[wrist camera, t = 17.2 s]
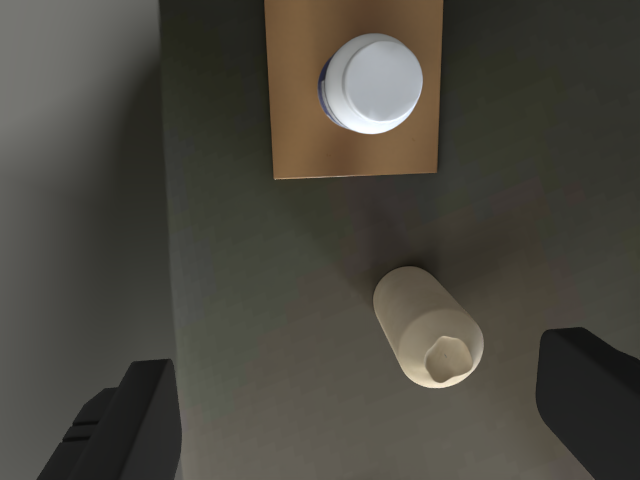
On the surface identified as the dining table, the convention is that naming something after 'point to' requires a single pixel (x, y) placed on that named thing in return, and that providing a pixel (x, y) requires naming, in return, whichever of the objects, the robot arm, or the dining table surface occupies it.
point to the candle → (427, 328)
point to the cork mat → (302, 78)
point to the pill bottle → (370, 84)
